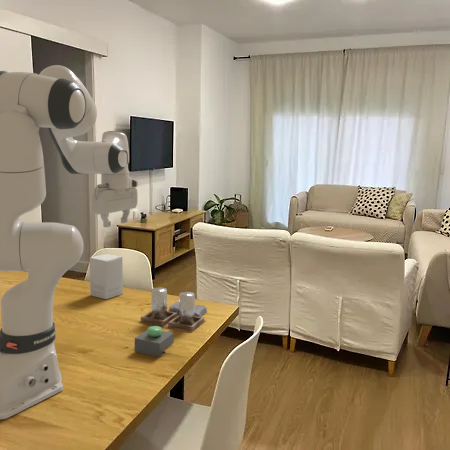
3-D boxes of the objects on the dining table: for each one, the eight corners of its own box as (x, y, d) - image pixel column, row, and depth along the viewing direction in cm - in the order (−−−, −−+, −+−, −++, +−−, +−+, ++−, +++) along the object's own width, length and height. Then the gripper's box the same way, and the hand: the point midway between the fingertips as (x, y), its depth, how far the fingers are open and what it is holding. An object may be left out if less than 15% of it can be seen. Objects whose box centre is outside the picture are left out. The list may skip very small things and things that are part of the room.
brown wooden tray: (191, 336, 138) (191, 328, 138) (138, 325, 145) (138, 318, 145) (206, 323, 149) (206, 316, 148) (156, 314, 156) (156, 307, 155)
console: (159, 357, 124) (159, 343, 123) (134, 351, 127) (134, 338, 126) (173, 345, 131) (173, 332, 131) (149, 340, 134) (149, 328, 134)
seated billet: (189, 328, 142) (190, 297, 140) (175, 325, 144) (176, 295, 142) (196, 322, 146) (197, 293, 145) (183, 320, 148) (183, 291, 147)
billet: (162, 322, 146) (162, 293, 144) (148, 320, 147) (148, 291, 145) (169, 317, 150) (169, 288, 149) (155, 315, 152) (155, 286, 150)
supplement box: (123, 294, 176) (123, 256, 173) (106, 300, 168) (105, 261, 166) (107, 289, 180) (106, 253, 178) (89, 295, 173) (88, 257, 170)
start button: (156, 349, 126) (157, 332, 126) (144, 346, 128) (144, 330, 127) (164, 344, 130) (164, 327, 129) (152, 341, 131) (152, 325, 131)
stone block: (178, 313, 162) (166, 317, 153) (180, 300, 163) (167, 303, 153) (209, 319, 158) (198, 324, 149) (211, 306, 158) (199, 309, 149)
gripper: (103, 185, 136) (104, 230, 138) (140, 181, 154) (140, 221, 157) (86, 184, 138) (87, 228, 140) (125, 180, 157) (125, 219, 159)
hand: (115, 224), depth 149 cm, fingers open, 8 cm apart
